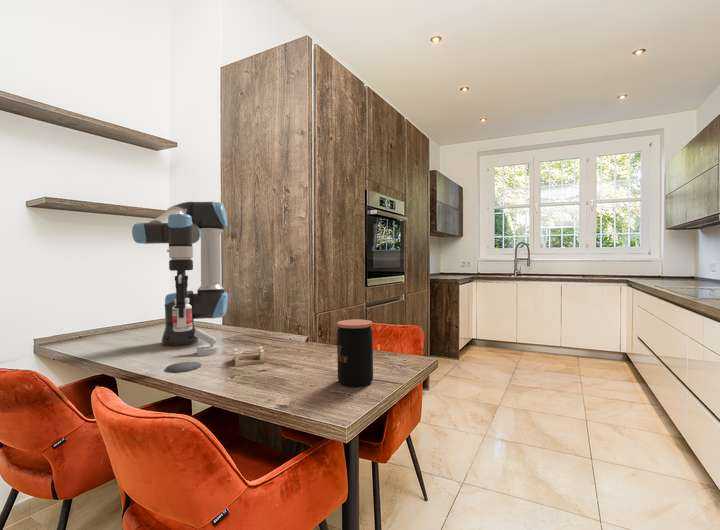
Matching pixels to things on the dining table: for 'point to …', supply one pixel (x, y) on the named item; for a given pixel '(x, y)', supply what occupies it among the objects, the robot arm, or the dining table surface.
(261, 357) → the cradle
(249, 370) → the dining table surface
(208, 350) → the wall hook
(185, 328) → the pill bottle
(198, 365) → the coaster
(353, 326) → the coffee jar
